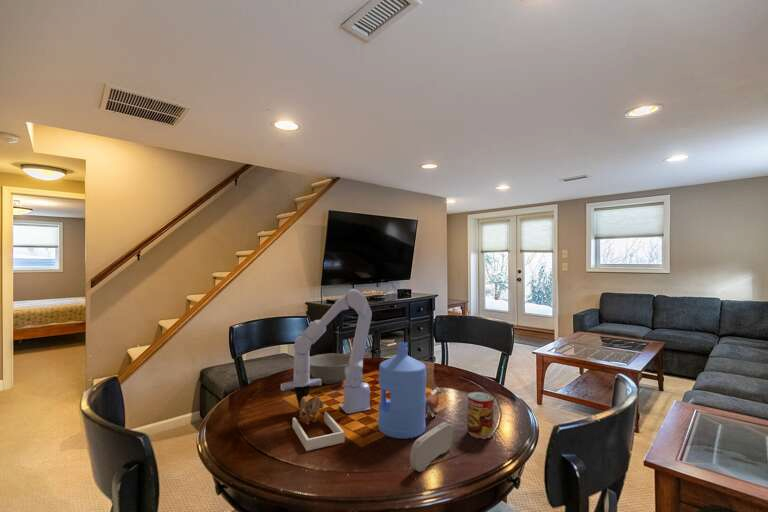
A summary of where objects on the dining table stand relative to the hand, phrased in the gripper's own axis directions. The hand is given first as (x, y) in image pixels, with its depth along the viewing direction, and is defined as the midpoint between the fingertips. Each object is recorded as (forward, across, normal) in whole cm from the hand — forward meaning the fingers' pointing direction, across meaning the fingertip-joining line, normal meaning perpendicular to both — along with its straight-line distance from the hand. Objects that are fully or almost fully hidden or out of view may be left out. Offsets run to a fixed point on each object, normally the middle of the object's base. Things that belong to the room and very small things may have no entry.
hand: (301, 407), depth 131 cm
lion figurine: (+2, -1, +8) cm, 8 cm away
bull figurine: (+2, -42, +23) cm, 48 cm away
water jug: (+2, -26, +28) cm, 38 cm away
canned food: (+2, -47, +42) cm, 63 cm away
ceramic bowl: (+2, -21, -27) cm, 34 cm away
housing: (+1, 0, +19) cm, 19 cm away
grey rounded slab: (+2, -24, +48) cm, 54 cm away
